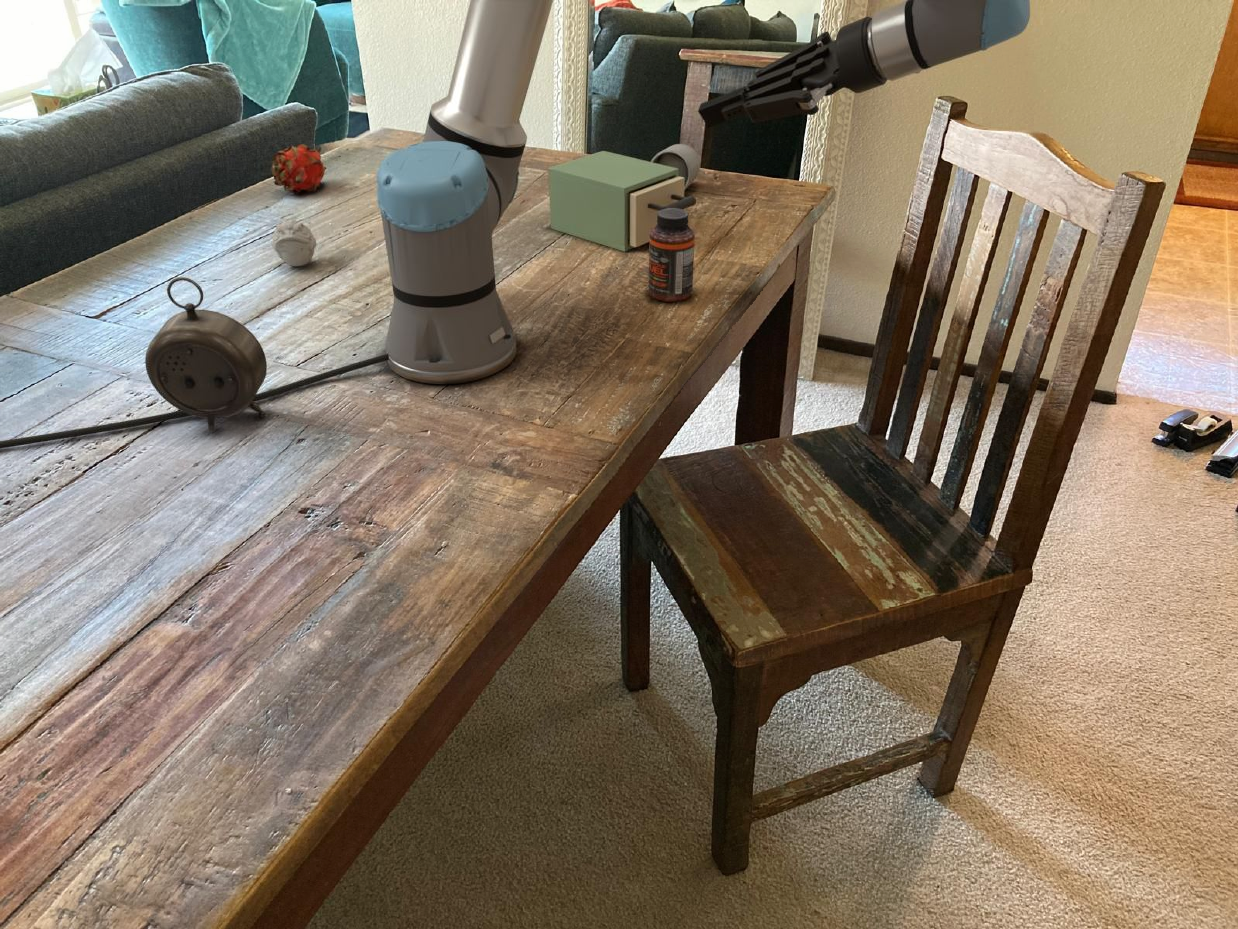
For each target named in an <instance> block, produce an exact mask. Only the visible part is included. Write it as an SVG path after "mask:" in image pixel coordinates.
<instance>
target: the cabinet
mask: <svg viewBox="0 0 1238 929" xmlns="http://www.w3.org/2000/svg"><path fill="white" fill-rule="evenodd" d="M547 170H548V172H547V173H548V190H549V191H548V193H549V210H550V211H549V212H550V229H551V230H554V231H556V232H557V231H558V232H561V233H564V234H567V235H571V236H573V237H576V238H580V239H583V240H587V241H589V242H593V243H596V244H599V245H602V246H605V247H609V248H611V249H615V250H618V251H620V252H628V251H630V250H632V249H634V248H636V247H633V246H630V239H628V192H630V191H633V190H635V189H638V188H641V187H644V186H646V185H649V184H652V183H655V182H657V181H660V180H663V179H666V178H668V177H669V180H670V179H673V178H675V177H678V174H679V169H677V168H673V167H669V166H665V165H661V164H657V163H652V162H651V161H648V160H644V159H639V158H636V157H631V156H627V155H623V154H619V153H614V152H611V151H606V150H601V151H598V152H595V153H591V154H588V155H585V156H581V157H578V158H576V159H573V160H568V161H566V162H563V163H559V164H556V165H553V166H550V167H548V168H547Z"/></svg>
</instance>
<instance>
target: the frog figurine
mask: <svg viewBox="0 0 1238 929" xmlns="http://www.w3.org/2000/svg"><path fill="white" fill-rule="evenodd" d="M271 238H272V241H271V247H272V249H273V250H274V251H275V253H276V254H277V255H278V257H279V259H281V260H282V261H283V262H284V263H285V264H287V265H288V266H291V267H302V266H305V265H307V264H309V262H311V260H312V259H313V256H314V253H315V250H316V247H317V239H316V238H315V236H314V233H312V231H311V229H310V227H308V226H307V225H306V224H304V223H302V222H298V221H297V220H296V219H292V218H290V219H284V220H283V221H282V222H281V223H279V224H276V225H275V229H274V232H273V234H272V237H271Z"/></svg>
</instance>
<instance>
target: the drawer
mask: <svg viewBox="0 0 1238 929" xmlns="http://www.w3.org/2000/svg"><path fill="white" fill-rule="evenodd" d="M684 183H685V178H684V177H680V176H678V177H675V178H673V179H670V180H669V177H668V178H666V179H663V180H660V181H657V182H655V183H652V184H649V185H646V186H644V187H641V188H638V189H635V190H633V191H630V192H628V239H630V246H633V247H635V248H637V247H640V246H642V245H645V244H647V243H649V241H650V232H651V230H652V228H654V227H655V226H656V225H657V224H658V223H657V214H658V212H659V211H660V210H663V209H667V208H677V209H683V210H686V209H688V208H690V207H693V206H695V205H696V203H697V198H696V197H695V196H694V195H690V196H687V197H686V196H685V190H684Z"/></svg>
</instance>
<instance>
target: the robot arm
mask: <svg viewBox="0 0 1238 929" xmlns="http://www.w3.org/2000/svg"><path fill="white" fill-rule="evenodd" d="M553 3H554V0H469V5H468V9H467V13H466V17H465V21H464V26H463V30H462V34H461V39H460V42H459V45H458V46H459V47H458V51H457V55H456V59H455V62H454V67H453V71H452V76H451V79H450V85H449V89H448V92H447V95H446V96H445V97H443V98H441V99H439V100H438V101H436V102H434V103H432V104H431V107H430V110H429V113H428V114H429V115H428V118H427V123H426V127H425V131H424V135H423V140H422V142H417V143H413V144H409V145H408V146H407V148H399V149H396V150H395V151H393V152H391V153H390V154H389V155H387V156H386V157H385V158H384V159H383V160H382V161H381V162H380V165H379V167H378V169H377V173H376V181H377V188H376V196H377V197H376V198H377V201H376V202H377V205H378V209H380V216H381V223H382V229H383V236H384V242H385V248H386V252H387V253H386V255H387V261H388V268H389V273H390V280H391V286H392V292H393V293H392V294H393V303H392V309H391V314H390V319H389V323H388V324H389V325H388V329H387V336H386V339H385V354H381V355H377V356H374V357H371V358H368V359H367V358H366V359H364V360H361V361H358V362H354V363H352V364H347V365H344V366H342V367H338V368H334V369H332V370H328V371H325V372H322V373H319V374H315V375H312V376H309V377H306V378H303V379H300V380H297V381H294V382H291V383H288V384H285V385H282V386H279V387H276V388H272V389H269V390H266V391H263V392H259V393H257V394H256V395H255V397H254V399H253V402H254V403H256V402H258V401H259V402H260V401H262V400H266V399H270V398H272V397H276V396H278V395H282V394H285V393H288V392H290V391H291V392H292V391H293V390H296V389H299V388H303V387H305V386H308V385H311V384H312V385H313V384H314V383H318V382H322V381H324V380H328V379H331V378H333V377H336V376H340V375H344V374H346V373H349V372H353V371H356V370H359V369H364V368H367V367H369V366H373V365H377V364H379V363H383V362H386V361H387V364H388V366H389V368H390V369H391V370H392V371H393V372H394V373H395V374H397V375H398V376H401V377H403V378H404V379H407V380H410V381H413V382H418V383H423V384H432V385H450V384H453V385H454V384H460V383H467V382H473V381H476V380H480V379H484V378H486V377H489V376H492V375H494V374H496V373H498V372H500V371H501V370H503V369H505V368H506V367H508V366H509V365H510V364H511V363H512V361H513V360H514V359H515V357H516V354H517V341H516V334H515V331H514V328H513V326H512V323H511V321H510V318H509V316H508V314H507V312H506V309H505V307H504V305H503V303H502V300H501V298H500V295H499V293H498V290H497V284H496V272H495V259H494V247H493V233H494V231H495V229H496V227H497V226H498V224H499V222H500V220H501V218H502V217H503V215H504V213H505V211H506V210H507V209H508V208H509V206H510V204H511V203H512V201H513V200H514V198H515V195H516V194H517V190H518V186H519V176H520V171H519V170H520V169H519V168H520V165H521V162H522V158H523V155H524V151H525V149H526V148H525V147H526V145H527V140H528V135H527V133H526V131H525V129H524V128H523V126H522V124H521V120H520V118H521V115H522V112H523V109H524V105H525V101H526V97H527V94H528V90H529V88H530V84H531V80H532V76H533V74H534V69H535V66H536V62H537V59H538V55H539V51H540V48H541V45H542V41H543V38H544V35H545V32H546V28H547V24H548V20H549V17H550V13H551V10H552V7H553ZM1030 17H1031V4H1030V0H904V1H901V2H898V3H896V4H893V5H891V6H889V7H886V8H884V9H881V10H879V11H876V12H875V13H874V14H873V15H872V17H871V16H865V17H863V18H860V19H858V20H855V21H853V22H849V23H848V24H844V25H843V26H841V27H840V28H839V29H838V31H837V33H836V36H835V39H834V40H833V39H832V38H833V37H832V36H831V35H830V33H829V31H827V30H826V31H824V32H821V33H820V34H819V35H818V36H817V37H815V38H814V39H813V40H811V41H810V42H807V43H805V44H804V45H802V46H800V47H798V48H796V49H795V50H792V51H790V52H789V53H787V54H786V55H783V56H782V57H780V58H778V59H776V60H774V61H773V62H770V63H768V64H767V65H765V66H762V67H761V68H759V69H757V70H756V71H755V73H754V76H755V78H753V79H751V80H749V81H748V82H747V83H746V86H743V87H740V88H738V89H735V90H733V91H730V92H727V93H725V94H722V95H720V96H719V95H718V96H717V97H715V98H711V99H709V100H707V101H704V102H702V103H700V105H699V107H698V109H697V113H698V114H699V115H700V117H701V119H702V120H703V122H704V124H705V125H706V127H707V128H709V129H710V128H712V127H715V126H717V125H720V124H722V123H725V122H729V121H732V120H734V119H736V118H739V117H742V116H744V115H748V117H749V119H750V121H751V122H752V124H757V123H762V122H766V121H772V120H777V119H782V118H787V117H792V116H797V115H807V116H814V115H816V114H817V113H818V112H819V111H820V108H819V106H818V103H819V102H820V101H821V100H822V99H823V98H824V97H829V96H832V95H834V94H835V93H837V92H839V91H840V90H842V89H847V90H849V91H851V92H852V93H854V94H862V93H865V92H867V91H870V90H872V89H875V88H878V87H881V86H884V85H885V84H887V82H888V81H890V82H894V81H896V80H900V79H902V78H906V77H908V76H911V75H914V74H916V75H917V74H920V73H921V72H922V71H924V70H928V69H930V68H932V67H936V66H939V65H942V64H945V63H947V62H951V61H953V60H957V59H960V58H963V57H966V56H969V55H972V54H975V53H978V52H981V51H982V52H984V51H987V50H988V49H990V48H992V47H994V46H997V45H999V44H1001V43H1004V42H1006V41H1008V40H1010V39H1013V38H1015V37H1017V36H1019V35H1021V34H1022V33H1023V32H1024V31H1025V30H1026V29H1027V27H1028V24H1029V23H1030ZM193 416H194V415H191V414H188V413H185V412H183V411H181V410H177V411H171V412H166V413H162V414H156V415H151V416H146V417H140V418H135V419H128V420H124V421H117V422H111V423H106V424H100V425H93V426H87V427H82V428H76V429H69V430H64V431H56V432H51V433H45V434H44V433H43V434H39V435H38V434H37V435H32V436H25V437H18V438H11V439H4V440H0V449H6V448H13V447H19V446H25V445H32V444H33V445H34V444H40V443H45V442H52V441H57V440H63V439H70V438H76V437H81V436H88V435H89V436H90V435H93V434H94V435H95V434H100V433H106V432H111V431H117V430H118V431H119V430H123V429H129V428H135V427H139V426H145V425H150V424H151V425H152V424H156V423H161V422H166V421H172V420H176V419H182V418H186V417H187V418H188V417H193Z"/></svg>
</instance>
